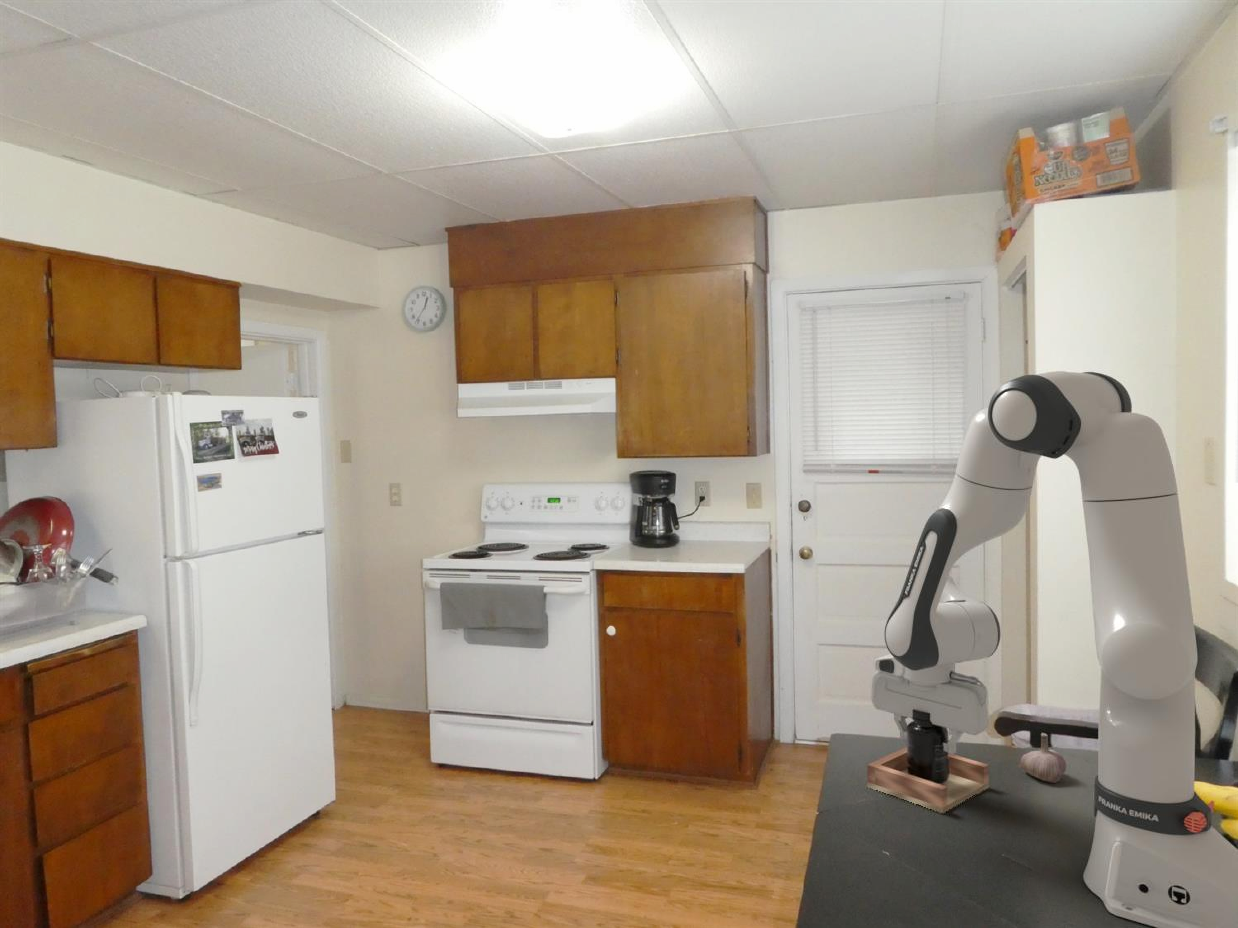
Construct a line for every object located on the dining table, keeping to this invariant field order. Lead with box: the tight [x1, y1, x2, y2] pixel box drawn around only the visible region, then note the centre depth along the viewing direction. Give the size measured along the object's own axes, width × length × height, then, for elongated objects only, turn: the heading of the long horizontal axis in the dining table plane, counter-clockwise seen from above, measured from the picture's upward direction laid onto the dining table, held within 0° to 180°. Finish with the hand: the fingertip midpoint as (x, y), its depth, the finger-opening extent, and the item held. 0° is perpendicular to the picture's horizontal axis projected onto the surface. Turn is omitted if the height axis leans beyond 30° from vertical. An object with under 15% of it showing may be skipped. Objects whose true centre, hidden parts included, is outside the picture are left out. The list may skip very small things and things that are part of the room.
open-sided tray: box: [866, 746, 990, 814], centre depth 153 cm, size 14×15×4 cm
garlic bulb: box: [1019, 732, 1067, 784], centre depth 157 cm, size 8×7×8 cm
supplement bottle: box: [906, 709, 950, 784], centre depth 153 cm, size 7×7×12 cm
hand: (927, 746), depth 153 cm, fingers closed on supplement bottle, 7 cm apart
